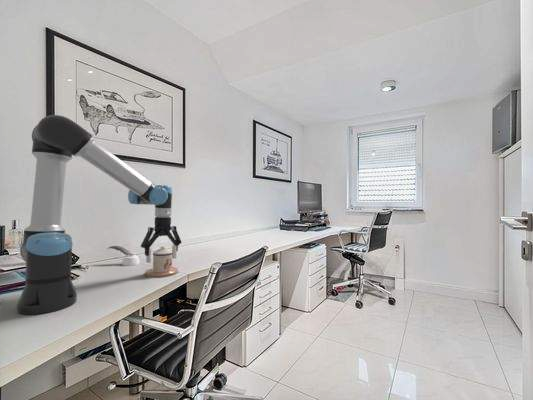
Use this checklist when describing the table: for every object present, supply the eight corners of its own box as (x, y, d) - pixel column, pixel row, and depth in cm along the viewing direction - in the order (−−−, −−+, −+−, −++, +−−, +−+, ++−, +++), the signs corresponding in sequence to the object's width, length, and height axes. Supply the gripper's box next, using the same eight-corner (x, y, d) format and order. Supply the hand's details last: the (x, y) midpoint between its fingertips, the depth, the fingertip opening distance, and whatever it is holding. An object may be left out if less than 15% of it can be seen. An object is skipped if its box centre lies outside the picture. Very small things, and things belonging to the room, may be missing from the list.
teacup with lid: (167, 273, 124) (167, 248, 124) (148, 272, 124) (149, 248, 125) (177, 267, 135) (178, 244, 136) (160, 266, 136) (161, 244, 136)
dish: (155, 279, 118) (155, 276, 119) (139, 273, 128) (139, 270, 128) (184, 272, 130) (184, 270, 130) (167, 267, 140) (167, 265, 140)
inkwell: (135, 265, 143) (135, 247, 143) (101, 265, 142) (101, 247, 142) (142, 262, 152) (143, 244, 152) (110, 261, 151) (111, 244, 152)
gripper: (141, 217, 117) (140, 265, 117) (189, 216, 137) (187, 257, 137) (133, 217, 122) (132, 263, 121) (180, 216, 142) (179, 255, 141)
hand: (161, 260), depth 129 cm, fingers open, 13 cm apart
